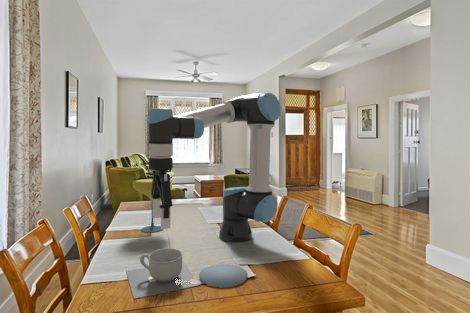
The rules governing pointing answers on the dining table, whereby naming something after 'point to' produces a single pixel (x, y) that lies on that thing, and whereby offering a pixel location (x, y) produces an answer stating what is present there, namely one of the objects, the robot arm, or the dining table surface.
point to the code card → (156, 282)
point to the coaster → (223, 275)
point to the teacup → (164, 264)
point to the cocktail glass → (145, 188)
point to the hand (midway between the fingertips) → (161, 222)
